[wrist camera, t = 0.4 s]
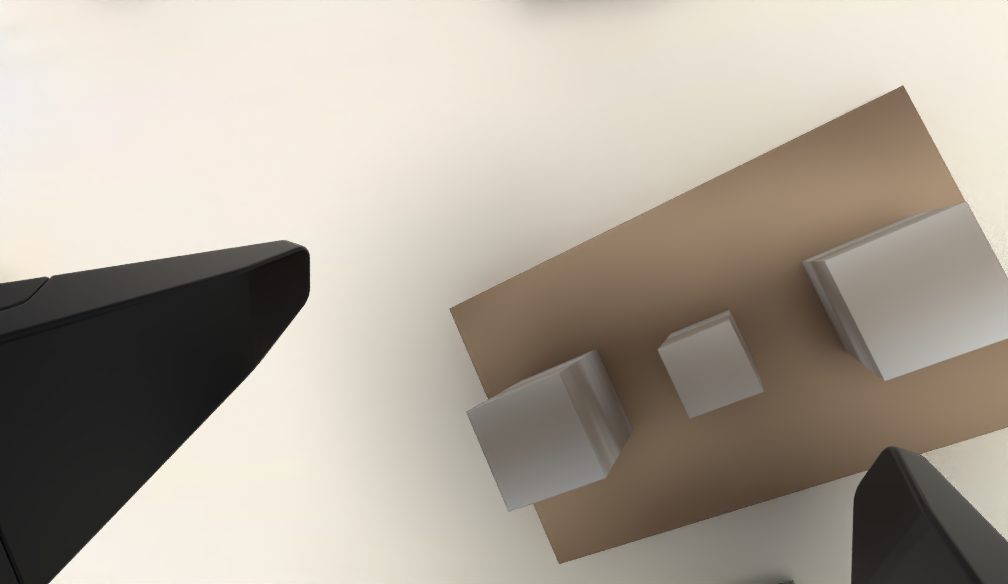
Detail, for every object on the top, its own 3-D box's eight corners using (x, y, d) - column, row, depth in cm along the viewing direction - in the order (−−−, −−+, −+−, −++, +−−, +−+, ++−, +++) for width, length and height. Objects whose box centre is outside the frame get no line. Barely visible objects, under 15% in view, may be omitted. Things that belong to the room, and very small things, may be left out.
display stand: (1048, 395, 18) (1208, 461, 12) (569, 546, 24) (513, 645, 17) (890, 98, 19) (964, 22, 13) (465, 306, 25) (378, 320, 18)
